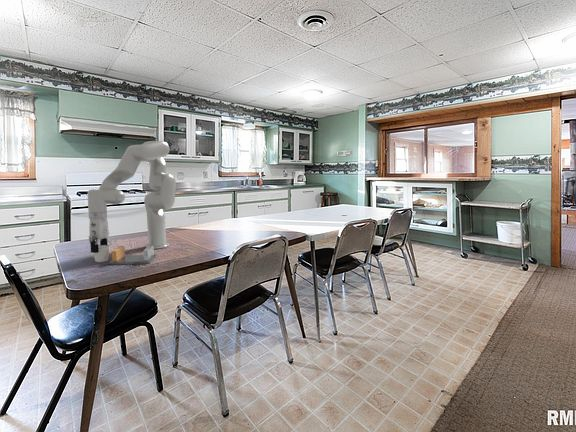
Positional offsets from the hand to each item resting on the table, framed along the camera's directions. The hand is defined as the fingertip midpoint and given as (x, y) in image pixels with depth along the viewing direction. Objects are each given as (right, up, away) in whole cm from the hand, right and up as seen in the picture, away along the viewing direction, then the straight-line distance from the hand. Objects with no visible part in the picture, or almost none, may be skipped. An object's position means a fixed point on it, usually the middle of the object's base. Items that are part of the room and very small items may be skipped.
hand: (99, 250), depth 150 cm
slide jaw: (+9, -4, 0) cm, 10 cm away
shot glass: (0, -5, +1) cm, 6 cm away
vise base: (+16, -5, +2) cm, 17 cm away
